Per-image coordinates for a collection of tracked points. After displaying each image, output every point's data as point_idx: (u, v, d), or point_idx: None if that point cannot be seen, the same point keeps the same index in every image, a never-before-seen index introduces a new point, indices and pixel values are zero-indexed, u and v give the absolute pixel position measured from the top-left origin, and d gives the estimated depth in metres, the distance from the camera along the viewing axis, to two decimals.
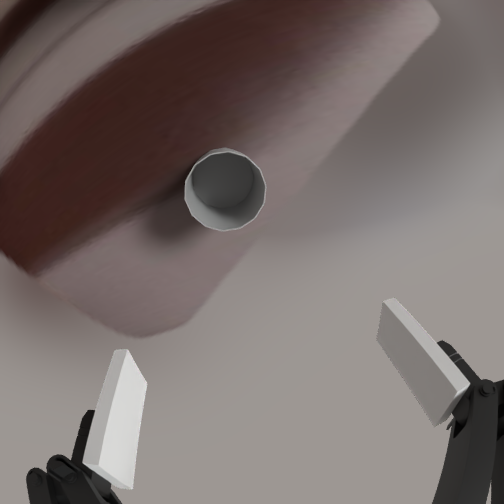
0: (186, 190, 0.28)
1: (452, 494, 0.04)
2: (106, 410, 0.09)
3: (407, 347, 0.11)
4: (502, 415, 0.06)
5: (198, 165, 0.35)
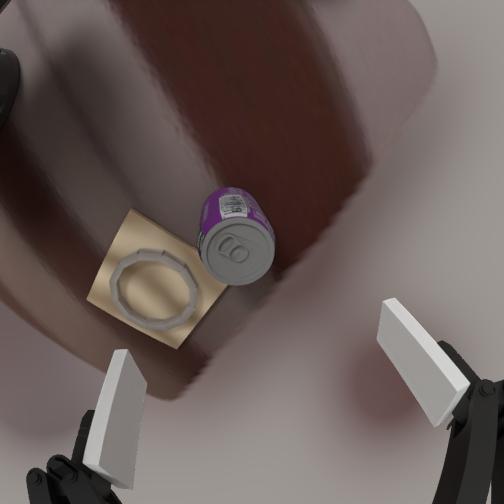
0: None
1: (452, 494, 0.04)
2: (106, 410, 0.09)
3: (407, 347, 0.11)
4: (502, 415, 0.06)
5: None
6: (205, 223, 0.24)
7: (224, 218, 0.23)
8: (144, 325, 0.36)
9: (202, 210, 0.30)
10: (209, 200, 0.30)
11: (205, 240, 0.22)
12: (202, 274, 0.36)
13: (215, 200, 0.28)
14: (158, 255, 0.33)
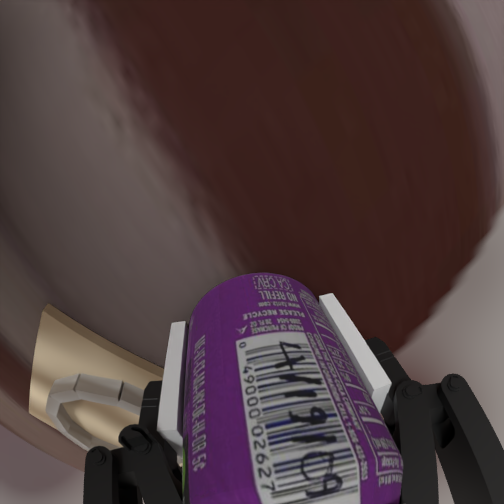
0: None
1: None
2: (175, 376, 0.10)
3: None
4: (445, 419, 0.08)
5: None
6: (203, 502, 0.04)
7: None
8: None
9: (190, 344, 0.11)
10: (206, 325, 0.11)
11: None
12: None
13: (225, 353, 0.09)
14: (111, 399, 0.13)
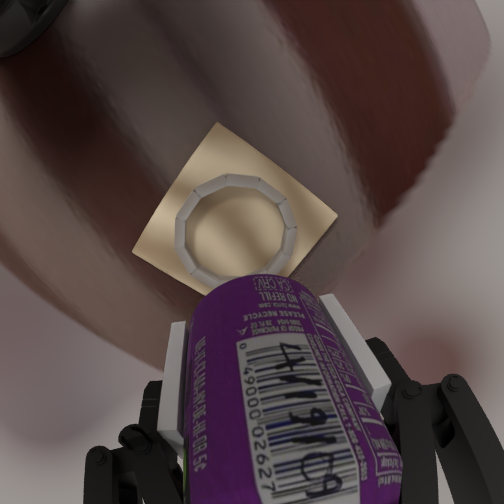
0: None
1: None
2: (175, 376, 0.10)
3: None
4: (444, 419, 0.08)
5: None
6: (204, 502, 0.04)
7: None
8: (216, 284, 0.29)
9: (190, 345, 0.11)
10: (207, 326, 0.11)
11: None
12: (301, 212, 0.29)
13: (226, 354, 0.09)
14: (253, 180, 0.25)
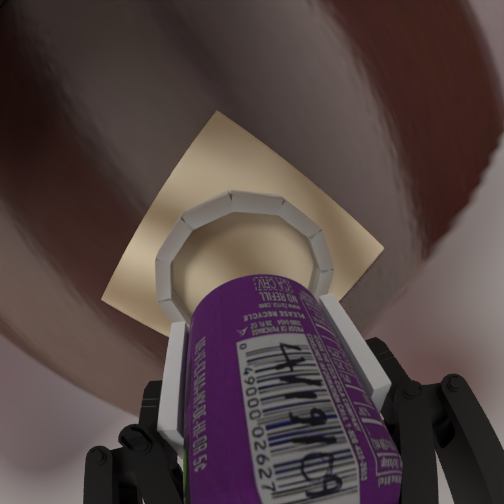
0: None
1: None
2: (175, 376, 0.10)
3: None
4: (444, 419, 0.08)
5: None
6: (204, 503, 0.04)
7: None
8: None
9: (190, 345, 0.11)
10: (207, 326, 0.11)
11: None
12: (337, 246, 0.20)
13: (226, 355, 0.09)
14: (274, 203, 0.16)
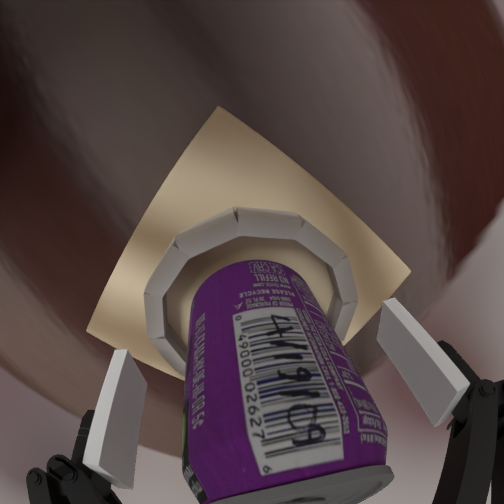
0: None
1: (452, 494, 0.04)
2: (106, 410, 0.09)
3: (407, 347, 0.11)
4: (502, 415, 0.06)
5: None
6: (201, 456, 0.06)
7: (268, 473, 0.05)
8: None
9: (191, 323, 0.13)
10: (206, 304, 0.12)
11: None
12: (361, 271, 0.16)
13: (223, 325, 0.10)
14: (291, 225, 0.13)
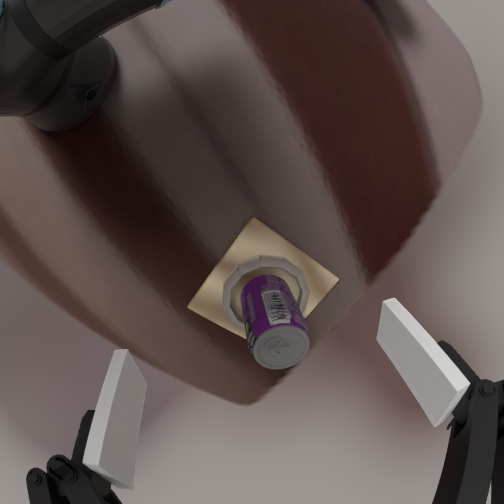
0: None
1: (452, 494, 0.04)
2: (106, 410, 0.09)
3: (407, 347, 0.11)
4: (502, 415, 0.06)
5: None
6: (255, 325, 0.29)
7: (272, 324, 0.28)
8: None
9: (244, 298, 0.36)
10: (250, 290, 0.35)
11: (257, 342, 0.28)
12: (312, 279, 0.39)
13: (258, 295, 0.33)
14: (280, 262, 0.36)
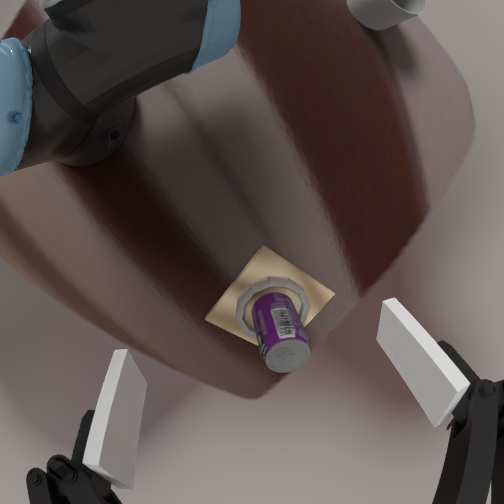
0: (403, 11, 0.21)
1: (452, 494, 0.04)
2: (106, 410, 0.09)
3: (407, 347, 0.11)
4: (502, 415, 0.06)
5: (363, 20, 0.28)
6: (267, 339, 0.35)
7: (281, 338, 0.35)
8: None
9: (255, 312, 0.42)
10: (261, 307, 0.42)
11: (269, 352, 0.34)
12: (312, 294, 0.46)
13: (268, 312, 0.40)
14: (285, 282, 0.43)
